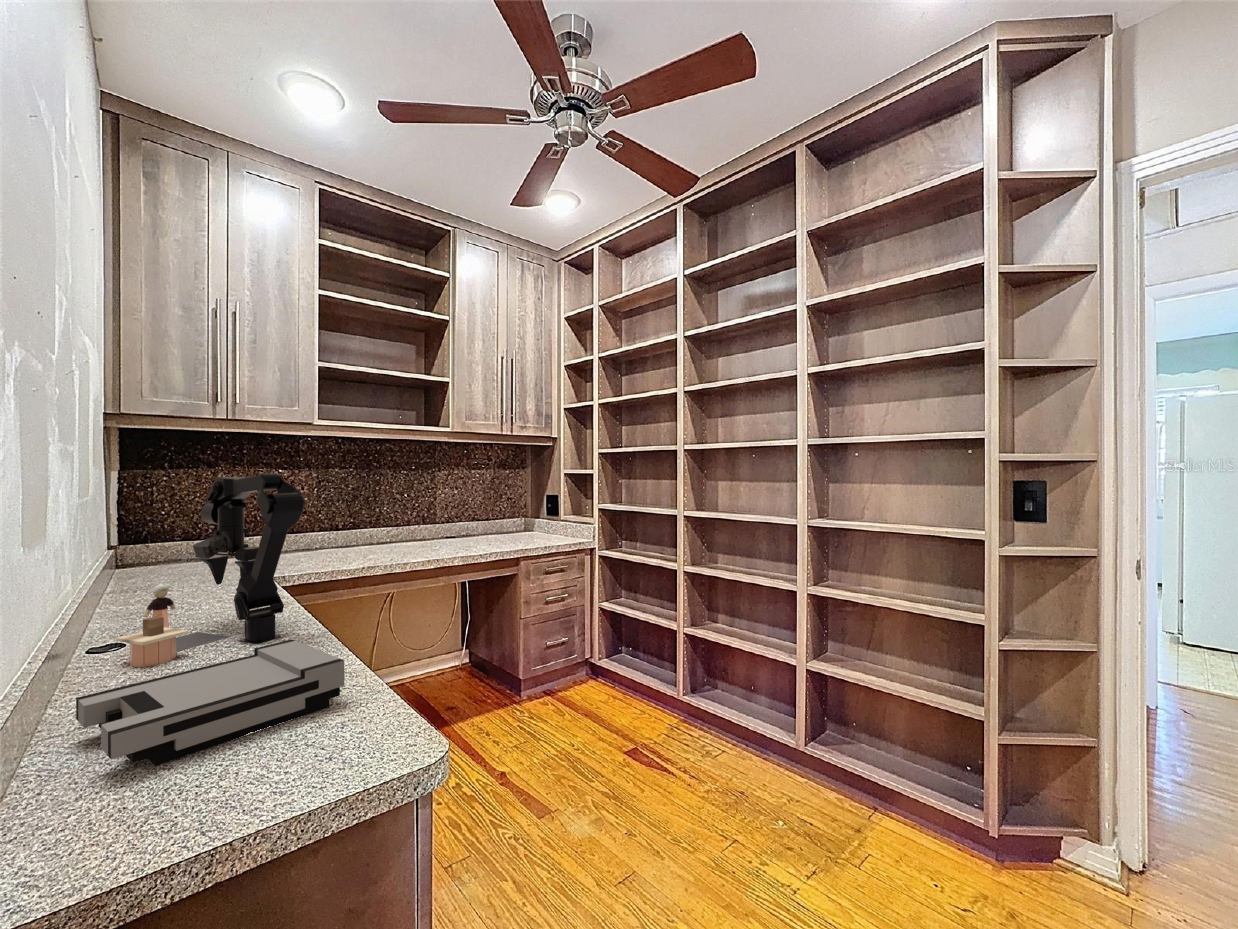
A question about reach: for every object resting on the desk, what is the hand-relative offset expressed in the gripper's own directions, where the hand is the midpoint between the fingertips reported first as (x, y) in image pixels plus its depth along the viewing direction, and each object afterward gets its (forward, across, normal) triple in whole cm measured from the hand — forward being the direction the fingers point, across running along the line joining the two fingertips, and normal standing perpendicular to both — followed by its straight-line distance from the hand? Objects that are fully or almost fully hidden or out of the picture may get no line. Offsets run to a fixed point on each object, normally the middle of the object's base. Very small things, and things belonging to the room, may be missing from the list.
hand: (231, 585), depth 148 cm
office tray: (+13, +49, -38) cm, 63 cm away
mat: (+12, -1, -10) cm, 16 cm away
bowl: (+12, +6, -22) cm, 26 cm away
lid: (+6, +6, -22) cm, 24 cm away
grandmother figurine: (+12, -16, -7) cm, 21 cm away
